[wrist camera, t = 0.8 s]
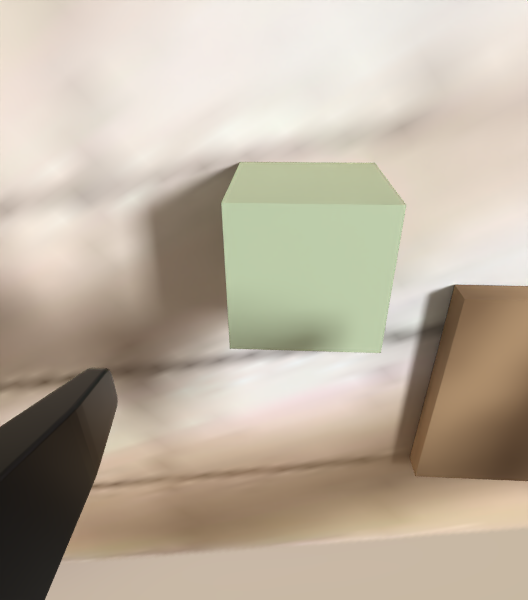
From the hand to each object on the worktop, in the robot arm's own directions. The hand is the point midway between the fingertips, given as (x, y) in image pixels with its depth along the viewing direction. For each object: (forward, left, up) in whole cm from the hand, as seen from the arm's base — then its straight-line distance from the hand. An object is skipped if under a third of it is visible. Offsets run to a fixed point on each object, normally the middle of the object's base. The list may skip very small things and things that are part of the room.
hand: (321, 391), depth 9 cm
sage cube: (0, 0, -10) cm, 10 cm away
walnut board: (-12, +8, -9) cm, 17 cm away
